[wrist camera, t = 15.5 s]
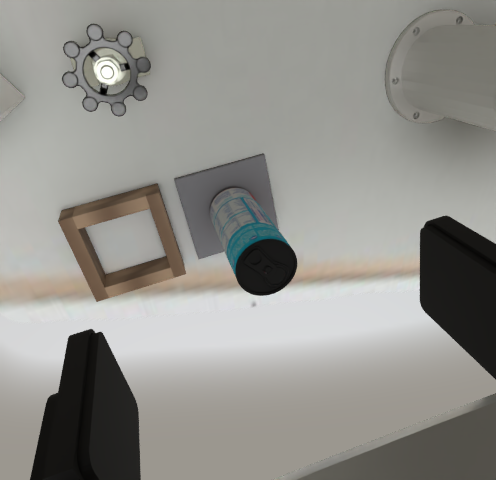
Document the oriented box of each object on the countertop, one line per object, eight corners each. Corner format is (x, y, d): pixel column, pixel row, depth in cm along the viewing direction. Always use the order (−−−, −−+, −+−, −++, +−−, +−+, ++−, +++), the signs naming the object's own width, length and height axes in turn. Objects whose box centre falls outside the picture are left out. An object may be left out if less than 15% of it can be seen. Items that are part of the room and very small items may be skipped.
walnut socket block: (157, 183, 49) (159, 192, 46) (183, 261, 54) (186, 273, 51) (61, 210, 47) (58, 221, 45) (98, 288, 53) (96, 301, 50)
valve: (153, 88, 44) (161, 107, 34) (89, 101, 43) (78, 125, 33) (134, 17, 41) (137, 15, 30) (65, 31, 40) (44, 32, 30)
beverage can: (226, 238, 53) (258, 306, 41) (198, 205, 51) (223, 267, 38) (264, 211, 53) (308, 270, 40) (238, 175, 50) (276, 227, 37)
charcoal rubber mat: (263, 153, 50) (264, 154, 50) (278, 232, 56) (279, 234, 55) (174, 178, 49) (174, 180, 48) (198, 257, 54) (198, 259, 54)
